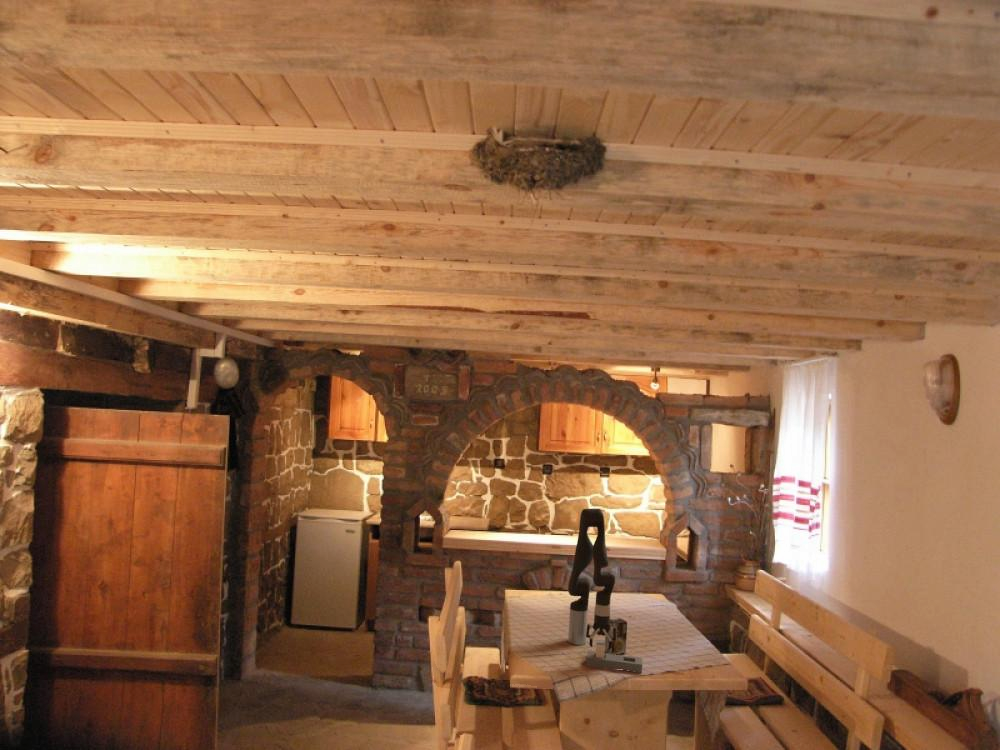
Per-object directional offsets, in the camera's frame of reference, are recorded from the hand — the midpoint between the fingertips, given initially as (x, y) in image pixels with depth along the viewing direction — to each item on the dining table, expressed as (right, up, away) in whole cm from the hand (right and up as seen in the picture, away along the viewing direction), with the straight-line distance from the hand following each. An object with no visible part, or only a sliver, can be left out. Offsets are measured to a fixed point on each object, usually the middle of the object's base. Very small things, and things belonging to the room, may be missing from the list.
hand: (600, 647), depth 365 cm
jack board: (+6, -9, -1) cm, 11 cm away
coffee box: (+10, -10, +19) cm, 24 cm away
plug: (0, -8, 0) cm, 8 cm away
